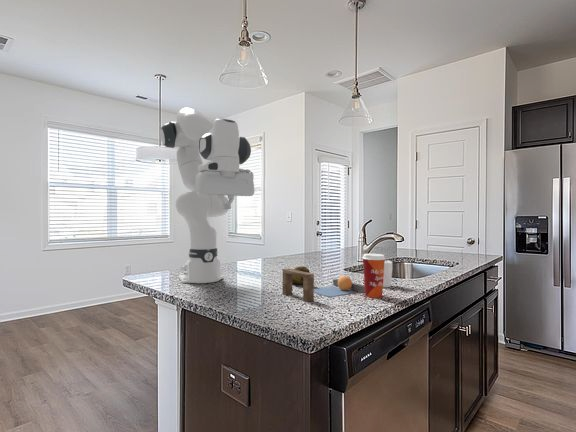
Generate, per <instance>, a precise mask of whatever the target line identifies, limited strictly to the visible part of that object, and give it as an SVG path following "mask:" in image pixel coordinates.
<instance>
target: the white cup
mask: <svg viewBox="0 0 576 432" xmlns="http://www.w3.org/2000/svg"><path fill="white" fill-rule="evenodd" d="M393 264H394V263H393V261H390V260H385V261H384V278H383V288H391V287H392V278H393Z"/></svg>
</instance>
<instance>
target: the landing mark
mask: <svg viewBox="0 0 576 432" xmlns="http://www.w3.org/2000/svg"><path fill="white" fill-rule="evenodd" d="M356 292H357V291H354V290H350V289H349V290H346V291H344V290H341V289H340V288H339V287H338V286H334V285H331V286H326V287H325V286H323V287H319V288H318V287H317V288H314V294H317V295H321V296H324V297H328V298H335V297H339V296H345V295H350V294H355V293H356Z"/></svg>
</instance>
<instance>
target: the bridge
mask: <svg viewBox="0 0 576 432" xmlns="http://www.w3.org/2000/svg"><path fill="white" fill-rule="evenodd" d="M292 275H295V276H299V277H303V284H302V286H303V287H302V289H303V291H302V292H303V293H302V295H303V296H302V298H303V299H302V301H303V302H305V303H310V302H314V301H315V300H314V299H315V293H314V289H315V274H314V273H311V272H310V273H308V272H303V271H299V270H294V268H283V269H282V295H284V296H287V295H289V296H290V295H293V282H292Z"/></svg>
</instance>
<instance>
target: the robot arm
mask: <svg viewBox="0 0 576 432" xmlns="http://www.w3.org/2000/svg"><path fill="white" fill-rule="evenodd" d="M159 136H160V140H161V142H162V143H163V145H164V147H165V148H171V149H174V148H178V149H177V150H176V161H177V166H178V170H179V173H180V177H181V180H182V183H183V185H184V187H185V188H186V189H188V190H190V191H187V192H182V193H180V194H179V195H178V196H177V198H176V201H175V208H176V211H177V212H178V214H179V215H181V217H182V218H184V220H185V221H186V223H187V226H188V229H189V237H190V239H189V240H190V249H189V251H188V259H187V260H186V262H185V263H184V264H183V265H182V266H181V267H180V271H181V272H183V273H182V274H179V275H178V279H179V281H180V282H181V283H183V284H184V283H185V284H188V283H189V284H190V283H191V284H207V283H215V282H219V281H220V280H222V279H224V275H222V272H221V271H222V270H221V261H220V260H219V258H218V247H217V231H216V229H215V228H214V227H212V226H211V225H210V223H209V221H208V218H218V217H220V216H221V217H222V216H224V215H226V214H227V213H228V211H229V210H231V209H232V203H233V202H234V200H235V196H236V197H252V196H254V194H255V184H254V173H253V172H252V171H251V170H250V169H249V168H248V169H243V168H240V165H243V164H245V162H247V161H248V160H249V158H250V157H251V153H252V148H251V144H250V142H249V141H248V139H247V138H246V137H244V136H240V131H239V125H238V123H237V122H236V121H235V120H232V119H227V118H216V119H214V120H213V121H212V120H210V119H209V118H208V117H206V116H205V115H204V114H203V113H201V112H200V111H198V110H196V109H194V108H192V107H191V108H190V107H184V108H182V109H180V110H179V111H178V112H177V115H176V121H171V120H170V121H168V123H164V124H163V125H162V126H161V127H160V131H159ZM202 158H203V159H204V160H206V161H208V162H205V163H204V161H203V159H202Z"/></svg>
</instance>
